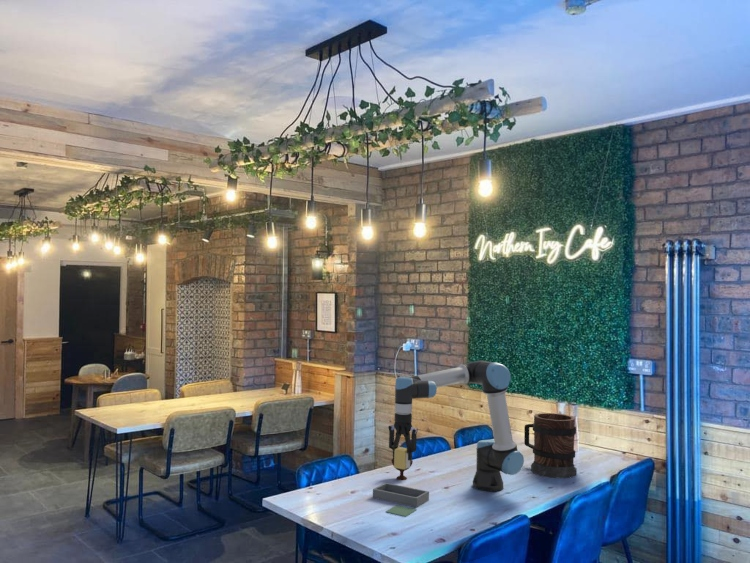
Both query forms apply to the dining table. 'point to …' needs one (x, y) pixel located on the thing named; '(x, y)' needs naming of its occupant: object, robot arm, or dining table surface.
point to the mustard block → (400, 458)
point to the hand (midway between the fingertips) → (402, 466)
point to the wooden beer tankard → (552, 445)
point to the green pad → (401, 510)
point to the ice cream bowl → (401, 471)
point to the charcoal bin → (401, 494)
